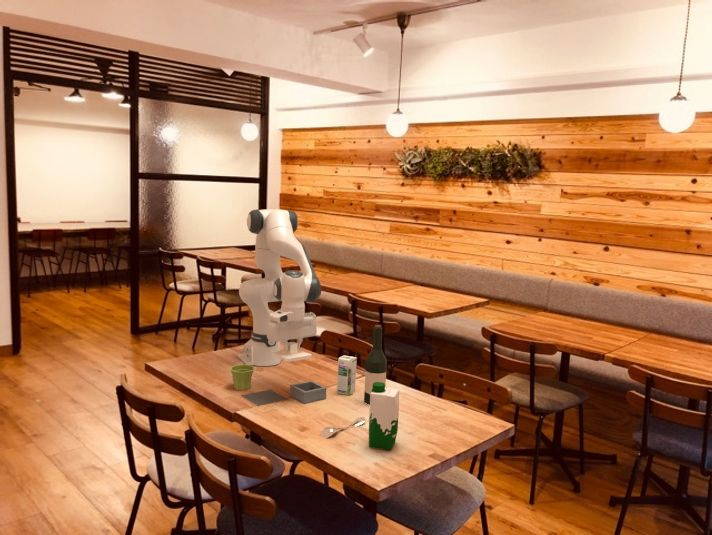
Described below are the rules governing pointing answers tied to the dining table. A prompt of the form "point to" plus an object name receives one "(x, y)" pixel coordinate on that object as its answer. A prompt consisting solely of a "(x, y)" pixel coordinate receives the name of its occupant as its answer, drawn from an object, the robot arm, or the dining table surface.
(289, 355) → the lid
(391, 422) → the milk carton
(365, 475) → the dining table surface
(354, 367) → the syrup box
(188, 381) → the dining table surface
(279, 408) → the dining table surface
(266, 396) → the coaster
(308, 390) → the dish
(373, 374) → the wine bottle
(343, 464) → the dining table surface
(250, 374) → the plant pot
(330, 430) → the silver spoon
